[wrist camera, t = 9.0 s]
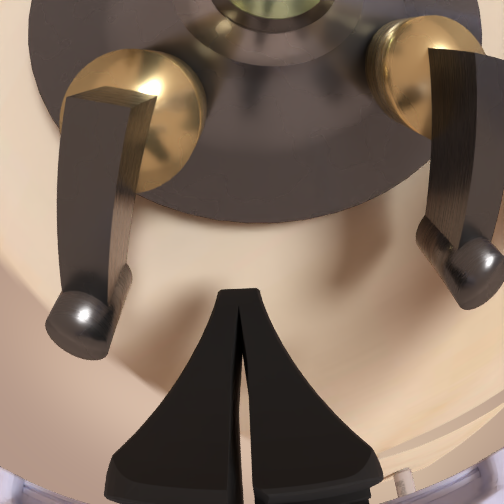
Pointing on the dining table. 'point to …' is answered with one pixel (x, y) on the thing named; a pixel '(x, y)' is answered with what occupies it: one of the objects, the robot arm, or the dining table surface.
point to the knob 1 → (114, 180)
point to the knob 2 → (449, 142)
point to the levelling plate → (257, 95)
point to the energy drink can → (404, 482)
